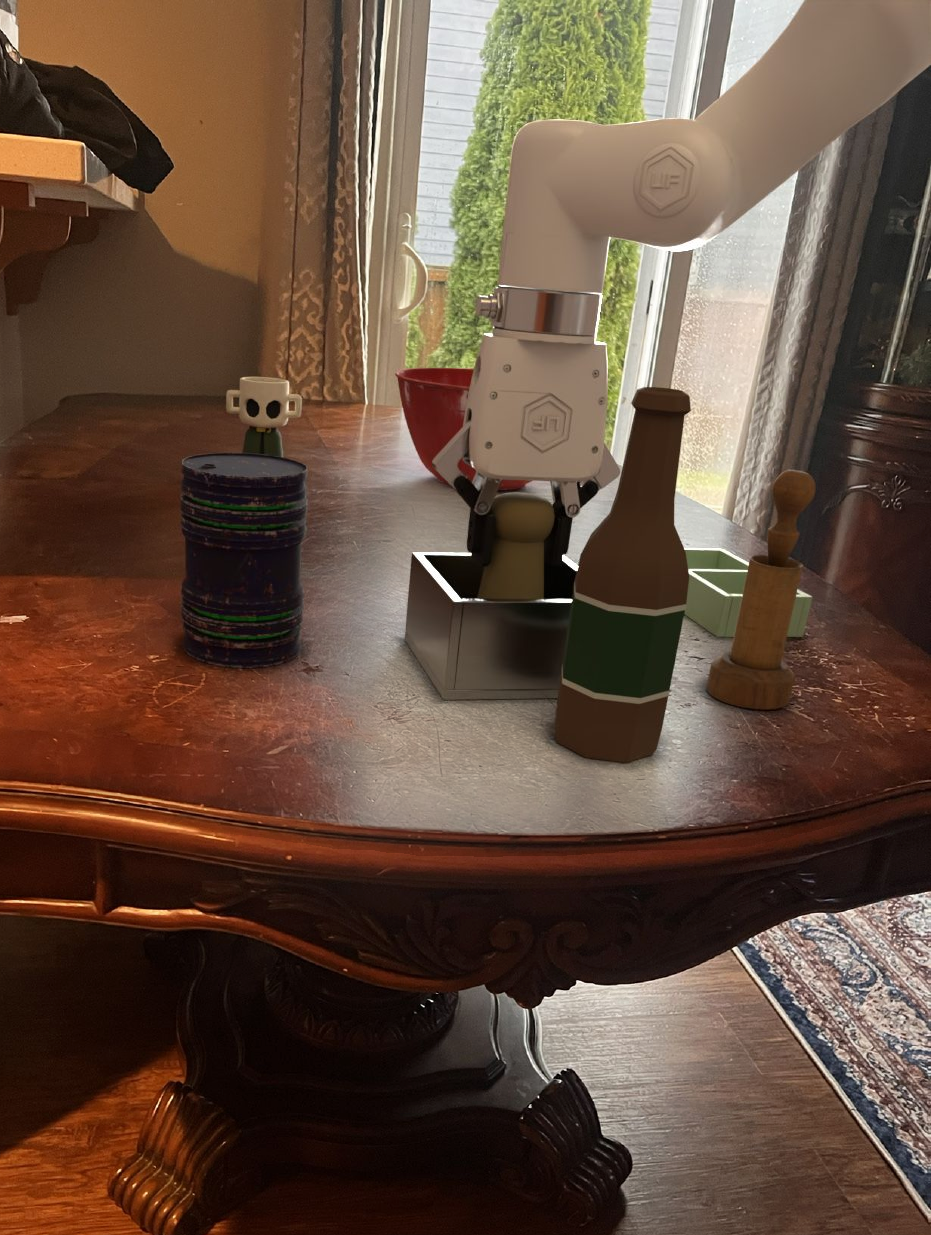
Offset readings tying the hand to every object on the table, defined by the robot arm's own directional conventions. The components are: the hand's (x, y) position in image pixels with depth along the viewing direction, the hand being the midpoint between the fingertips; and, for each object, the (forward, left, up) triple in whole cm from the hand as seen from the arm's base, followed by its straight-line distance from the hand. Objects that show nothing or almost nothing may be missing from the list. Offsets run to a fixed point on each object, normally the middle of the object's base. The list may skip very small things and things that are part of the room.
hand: (515, 559), depth 83 cm
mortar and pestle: (-19, +7, -9) cm, 22 cm away
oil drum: (+21, -5, -9) cm, 24 cm away
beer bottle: (-3, +15, -9) cm, 18 cm away
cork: (0, 0, -6) cm, 6 cm away
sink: (0, 0, -9) cm, 9 cm away
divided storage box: (-28, -16, -9) cm, 34 cm away
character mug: (+12, -81, -9) cm, 82 cm away
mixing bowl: (-21, -78, -9) cm, 81 cm away
